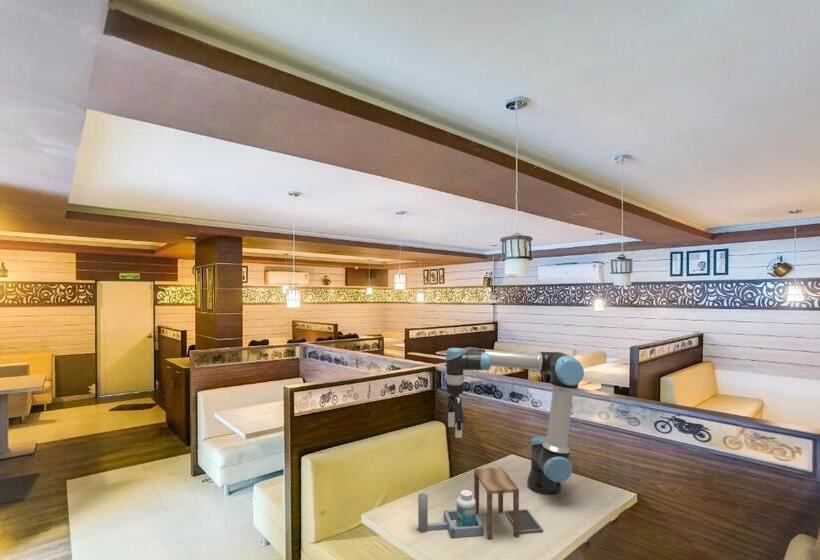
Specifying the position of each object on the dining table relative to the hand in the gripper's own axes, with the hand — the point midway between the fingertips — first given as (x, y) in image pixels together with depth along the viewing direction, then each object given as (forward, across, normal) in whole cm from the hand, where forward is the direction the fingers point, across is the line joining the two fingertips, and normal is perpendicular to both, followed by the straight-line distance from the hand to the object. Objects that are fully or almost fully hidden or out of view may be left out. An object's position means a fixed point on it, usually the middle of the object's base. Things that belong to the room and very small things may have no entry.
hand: (454, 431), depth 184 cm
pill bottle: (+31, +19, 0) cm, 36 cm away
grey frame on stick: (+30, +19, -7) cm, 37 cm away
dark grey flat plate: (+31, +19, +24) cm, 43 cm away
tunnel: (+31, +19, +12) cm, 38 cm away
